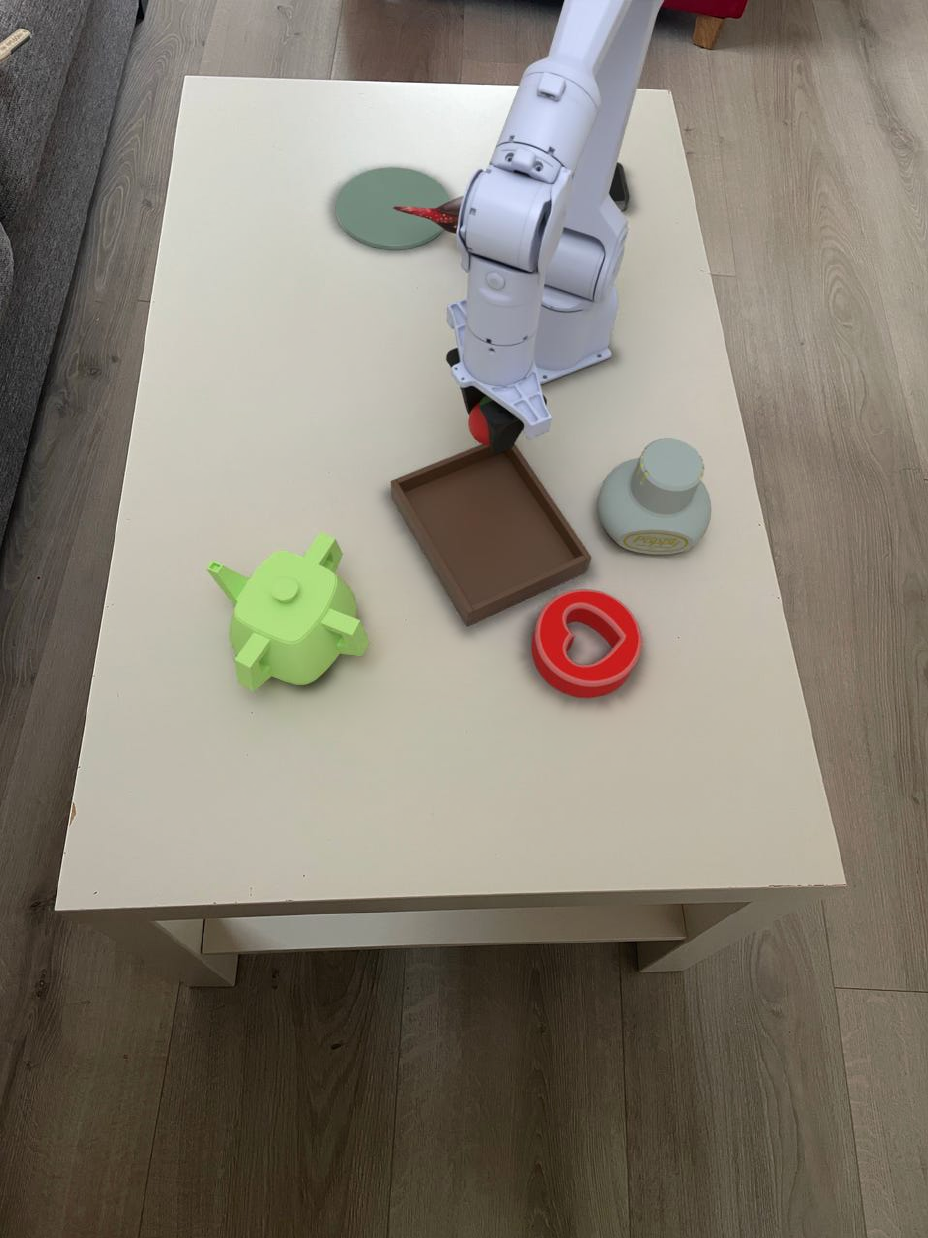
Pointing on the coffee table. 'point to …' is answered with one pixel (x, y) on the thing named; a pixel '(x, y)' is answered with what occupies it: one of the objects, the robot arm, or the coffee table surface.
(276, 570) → the teapot
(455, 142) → the coffee table surface
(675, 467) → the air freshener
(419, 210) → the decorative bird figurine
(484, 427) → the strawberry
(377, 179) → the plate
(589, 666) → the decorative ornament
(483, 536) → the tray
